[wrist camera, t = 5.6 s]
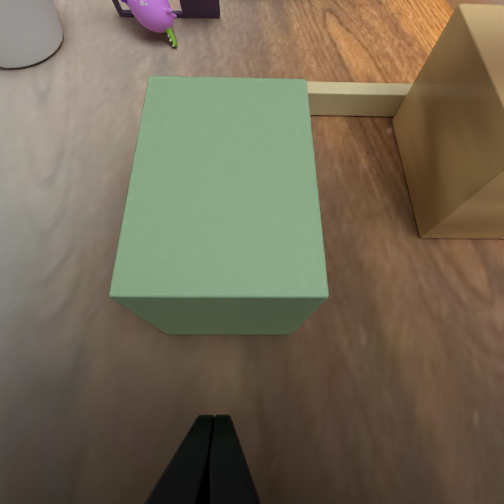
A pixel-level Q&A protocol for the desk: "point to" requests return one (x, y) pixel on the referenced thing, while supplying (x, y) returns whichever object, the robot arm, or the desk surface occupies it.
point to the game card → (167, 13)
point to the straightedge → (356, 98)
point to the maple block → (458, 129)
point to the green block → (222, 209)
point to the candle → (28, 32)
